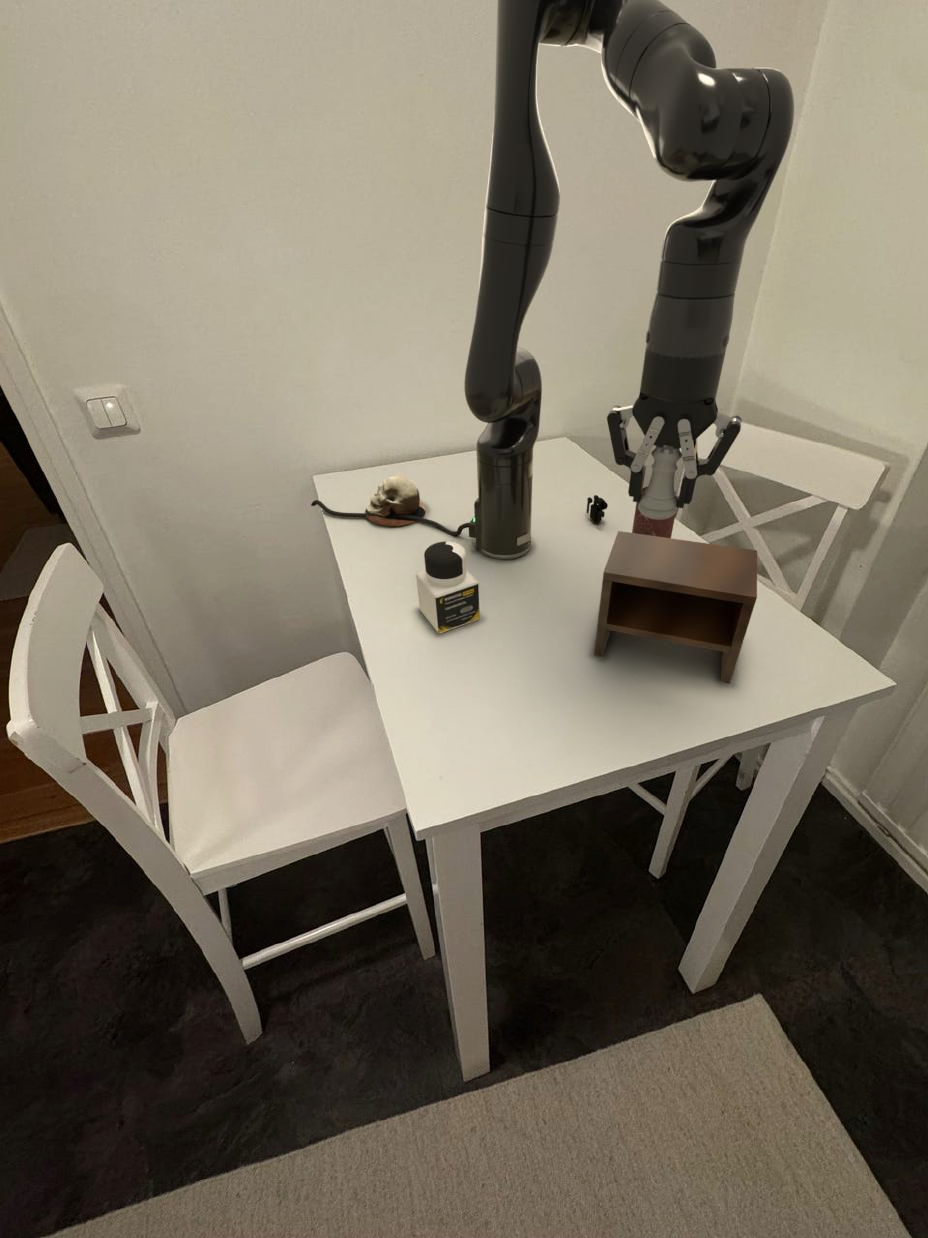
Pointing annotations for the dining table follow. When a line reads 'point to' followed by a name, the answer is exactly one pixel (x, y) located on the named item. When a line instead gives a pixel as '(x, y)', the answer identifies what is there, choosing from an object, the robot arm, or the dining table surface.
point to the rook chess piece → (661, 485)
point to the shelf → (679, 594)
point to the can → (652, 524)
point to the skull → (395, 502)
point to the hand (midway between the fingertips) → (658, 501)
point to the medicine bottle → (447, 587)
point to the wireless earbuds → (596, 509)
